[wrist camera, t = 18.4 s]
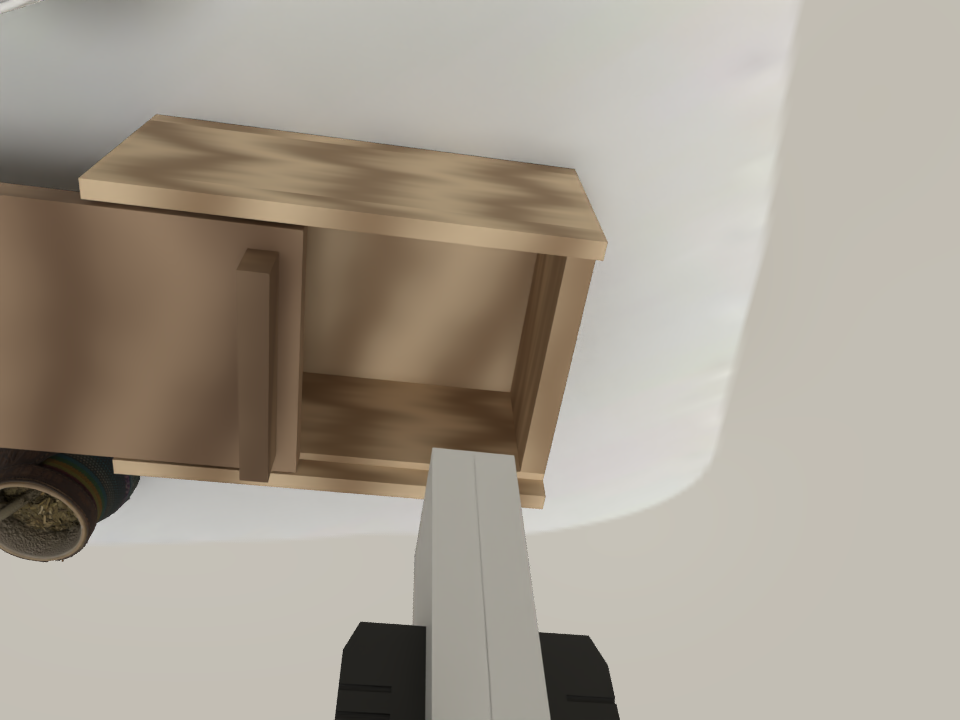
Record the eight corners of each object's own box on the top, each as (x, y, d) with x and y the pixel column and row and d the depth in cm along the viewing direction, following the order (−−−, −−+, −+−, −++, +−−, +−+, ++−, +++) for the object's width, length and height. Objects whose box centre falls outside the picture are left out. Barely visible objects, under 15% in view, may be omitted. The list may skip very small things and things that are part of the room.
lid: (-154, 416, 35) (-204, 461, 33) (-240, 153, 29) (-311, 181, 26) (299, 456, 37) (288, 501, 35) (307, 219, 31) (294, 251, 29)
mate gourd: (177, 466, 48) (116, 596, 39) (58, 486, 48) (-27, 617, 40) (128, 367, 44) (49, 487, 35) (-1, 389, 44) (-108, 512, 36)
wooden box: (172, 367, 44) (114, 473, 36) (156, 114, 37) (78, 178, 29) (525, 401, 46) (542, 509, 38) (574, 169, 39) (607, 242, 31)
